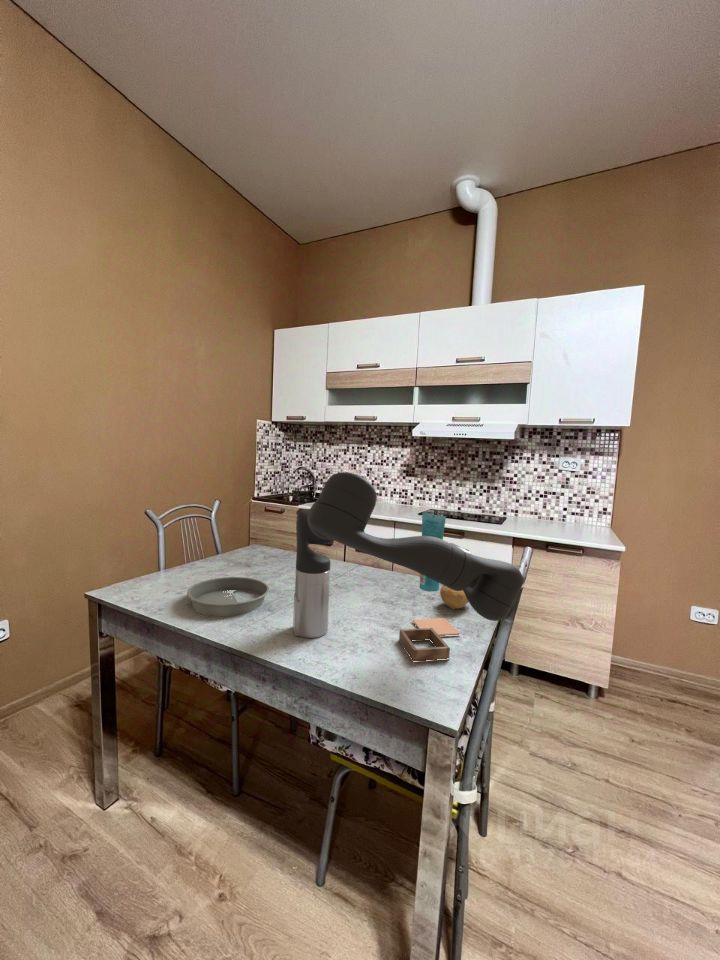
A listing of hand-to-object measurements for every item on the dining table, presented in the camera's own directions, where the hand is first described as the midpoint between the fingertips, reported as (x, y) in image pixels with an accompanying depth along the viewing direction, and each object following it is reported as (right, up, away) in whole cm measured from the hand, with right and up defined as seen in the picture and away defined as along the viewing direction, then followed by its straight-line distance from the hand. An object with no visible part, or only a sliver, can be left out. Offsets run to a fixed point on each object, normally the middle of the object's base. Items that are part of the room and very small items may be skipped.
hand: (427, 545), depth 106 cm
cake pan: (-59, -22, +22) cm, 66 cm away
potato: (+13, -25, +27) cm, 39 cm away
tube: (0, -11, -2) cm, 11 cm away
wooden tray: (-2, -26, -3) cm, 26 cm away
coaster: (+4, -25, +10) cm, 27 cm away
